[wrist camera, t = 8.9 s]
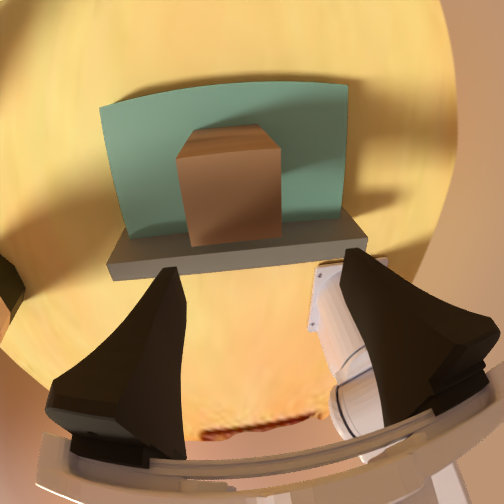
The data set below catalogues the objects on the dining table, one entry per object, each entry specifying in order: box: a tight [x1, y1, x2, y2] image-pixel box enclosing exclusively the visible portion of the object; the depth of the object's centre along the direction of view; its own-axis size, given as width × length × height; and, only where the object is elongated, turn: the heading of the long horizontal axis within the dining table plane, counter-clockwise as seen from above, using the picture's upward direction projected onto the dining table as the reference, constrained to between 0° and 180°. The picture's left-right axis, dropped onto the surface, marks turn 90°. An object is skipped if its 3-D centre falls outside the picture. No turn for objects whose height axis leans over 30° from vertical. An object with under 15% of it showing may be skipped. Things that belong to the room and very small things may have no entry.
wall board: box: [99, 81, 368, 281], centre depth 17 cm, size 12×18×5 cm, turn 93°
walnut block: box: [176, 124, 282, 247], centre depth 14 cm, size 4×4×7 cm
